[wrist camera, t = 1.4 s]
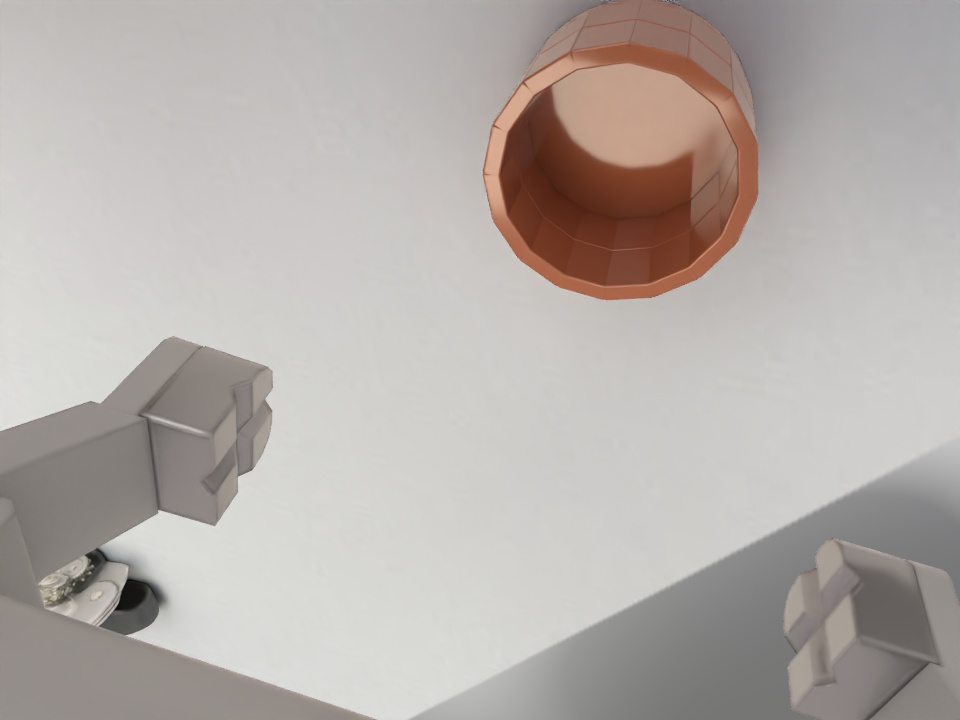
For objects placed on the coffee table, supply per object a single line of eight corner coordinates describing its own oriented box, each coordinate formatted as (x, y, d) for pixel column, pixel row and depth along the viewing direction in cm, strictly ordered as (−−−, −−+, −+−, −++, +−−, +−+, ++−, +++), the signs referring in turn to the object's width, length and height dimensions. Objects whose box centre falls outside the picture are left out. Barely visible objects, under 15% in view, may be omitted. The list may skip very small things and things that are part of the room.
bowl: (547, -30, 20) (513, 11, 17) (790, 32, 20) (808, 88, 16) (499, 191, 24) (464, 261, 21) (700, 247, 24) (698, 327, 20)
